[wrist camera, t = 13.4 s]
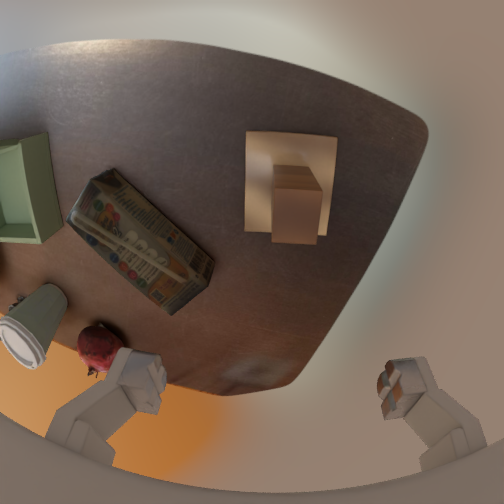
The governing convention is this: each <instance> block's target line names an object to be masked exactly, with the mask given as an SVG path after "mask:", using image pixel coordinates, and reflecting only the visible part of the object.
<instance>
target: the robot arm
mask: <svg viewBox="0 0 504 504" xmlns="http://www.w3.org/2000/svg"><path fill="white" fill-rule="evenodd" d="M161 363H162V357H161V355H160V354H156V353H151V352H145V351H139V350H134V349H129V348H124V347H121V348H120V349H119V350H118V352H117V354H116V356H115V358H114V360H113V362H112V365H111V367H110V369H109V371H108V373H107V375H106V378H105V380H104V381H102V380H101V381H99V382H97V383H96V384H94V385H93V386H92V387H90V388H89V389H87V390H86V391H84V392H83V393H82V394H80V395H78V396H77V397H76V398H74V399H73V400H71V401H70V402H69V403H67V404H65V405H64V406H62V407H61V408H59V409H58V410H57V411H56V413H55V415H54V417H53V420H52V422H51V424H50V426H49V429H48V431H47V433H46V436H45V438H44V437H42V436H40V435H38V434H36V433H34V432H32V431H30V430H29V429H27V428H25V427H23V426H22V425H20V424H18V423H17V422H15V421H13V420H12V419H10V418H8V417H7V416H5V415H4V414H2V413H1V412H0V504H504V438H503V439H501V440H499V441H497V442H496V443H493V444H491V445H489V446H487V443H486V440H485V437H484V434H483V431H482V428H481V425H480V422H479V420H478V419H477V418H476V417H475V416H473V415H472V414H471V413H470V412H469V411H468V410H466V409H465V408H464V407H463V406H461V405H460V404H459V403H458V402H457V401H456V400H454V399H453V398H452V397H451V396H449V395H448V394H447V393H446V392H445V391H443V390H442V389H438V386H437V384H436V381H435V379H434V376H433V374H432V371H431V369H430V367H429V364H428V362H427V360H426V358H425V357H415V358H405V359H396V360H389V361H388V362H387V363H386V365H385V369H386V370H385V371H384V372H382V373H381V374H380V376H379V378H378V382H377V391H378V396H379V397H380V398H381V399H382V400H383V403H382V405H381V408H382V413H383V416H384V420H388V419H396V418H402V417H404V418H403V419H404V420H405V421H406V422H407V423H408V425H409V426H410V427H411V428H412V429H413V430H414V431H415V433H416V434H417V435H418V436H419V437H420V438H421V439H422V441H423V442H424V443H425V444H426V445H427V446H428V448H429V449H428V450H427V451H426V452H425V453H423V454H422V455H421V456H420V458H419V459H420V465H421V470H422V472H419V473H416V474H412V475H409V476H405V477H401V478H397V479H393V480H389V481H384V482H379V483H374V484H369V485H363V486H358V487H351V488H345V489H336V490H327V491H314V492H299V493H298V492H296V493H257V492H239V491H226V490H216V489H208V488H202V487H195V486H188V485H183V484H178V483H173V482H168V481H163V480H159V479H154V478H151V477H147V476H143V475H139V474H136V473H132V472H129V471H125V470H122V469H119V468H116V467H113V466H112V463H113V459H114V456H115V450H114V449H113V448H112V447H111V446H110V445H109V444H108V443H107V442H106V440H107V439H108V438H109V437H110V436H111V435H113V434H114V432H116V431H117V430H118V429H119V428H120V427H121V426H122V425H123V424H124V423H125V422H127V420H128V419H130V418H131V417H132V416H133V415H134V414H135V413H136V411H139V412H144V413H150V414H155V415H157V414H158V411H159V407H160V404H161V398H160V396H159V394H160V393H162V392H163V391H164V390H165V386H166V381H167V373H166V369H165V367H164V366H163V365H162V364H161Z"/></svg>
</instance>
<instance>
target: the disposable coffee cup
mask: <svg viewBox="0 0 504 504" xmlns="http://www.w3.org/2000/svg"><path fill="white" fill-rule="evenodd" d="M67 305H68V303H67V298H66V296H65V295H64V293H63V291H62V290H60V289H59V288H58V287H57V286H56V285H53V284H51V283H49V284H45V285H42V286H41V287H39V288H38V289H37V290H36V291H34V292H33V293H32V294H31V295H29V296H28V297H27V298H25V299H24V300H23V301H22V302H21V303H19V304H18V305H17V306H16V307H14V308H13V309H12V310H11V311H10V312H8V313H7V314H6V315H5V316H4V317H1V319H0V337H1V339H2V341H3V343H4V345H5V346H6V348H7V349H8V351H9V352H10V353H11V354H12V355H13V357H15V359H16V360H17V361H18V362H19V363H21V364H22V365H24V366H25V367H27V368H28V369H36V368H37V366H40V365H42V364H43V362H44V361H45V360H46V356H45V355H46V352H47V350H48V348H49V346H50V343H51V341H52V339H53V337H54V334H55V332H56V330H57V328H58V326H59V324H60V322H61V319H62V317H63V315H64V313H65V311H66V309H67Z"/></svg>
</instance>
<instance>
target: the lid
mask: <svg viewBox="0 0 504 504" xmlns="http://www.w3.org/2000/svg"><path fill="white" fill-rule="evenodd" d="M15 145H18V139H7V140H0V150H2V149H5V148H8V147H12V146H15Z"/></svg>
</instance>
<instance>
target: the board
mask: <svg viewBox="0 0 504 504" xmlns="http://www.w3.org/2000/svg"><path fill="white" fill-rule="evenodd" d="M337 142H338V138H337V137H335V136H326V135H316V134H305V133H292V132H276V131H251V130H247V131H246V160H245V225H244V231H253V232H271V198H272V177H273V165H274V164H275V165H292V166H306V167H309V168H310V169H311V171H312V173H313V175H314V176H315V178H316V180H317V182H318V183H319V185H320V187H321V189H322V190H323V197H322V205H321V213H320V221H319V228H318V235H326V233H327V226H328V219H329V212H330V205H331V197H332V189H333V181H334V172H335V163H336V153H337Z"/></svg>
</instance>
